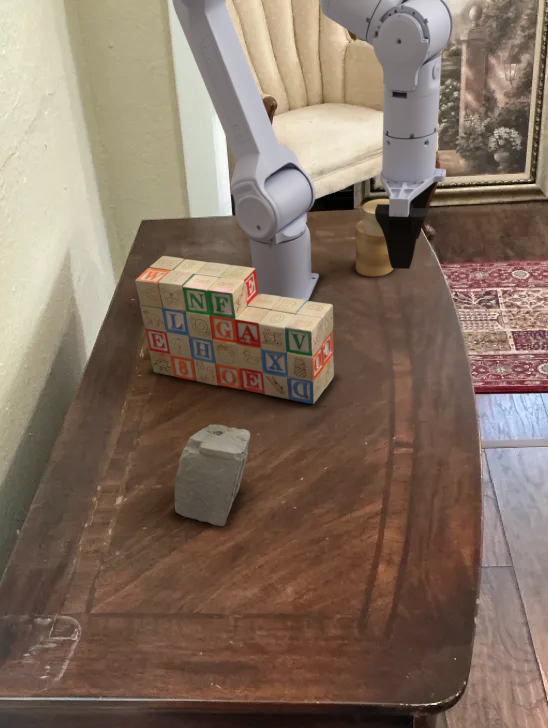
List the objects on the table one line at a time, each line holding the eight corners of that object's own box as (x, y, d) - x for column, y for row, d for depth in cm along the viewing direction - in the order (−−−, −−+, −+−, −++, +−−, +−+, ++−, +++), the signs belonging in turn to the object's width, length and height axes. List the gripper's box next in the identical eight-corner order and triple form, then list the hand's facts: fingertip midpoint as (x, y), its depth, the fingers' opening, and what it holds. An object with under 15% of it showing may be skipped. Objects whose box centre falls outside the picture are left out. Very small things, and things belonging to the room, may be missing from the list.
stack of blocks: (335, 377, 100) (333, 278, 92) (314, 406, 96) (310, 305, 88) (177, 346, 108) (162, 253, 100) (151, 372, 104) (133, 277, 96)
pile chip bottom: (359, 258, 121) (359, 237, 119) (396, 260, 120) (397, 239, 118) (352, 275, 118) (352, 254, 116) (390, 277, 116) (391, 256, 114)
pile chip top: (359, 237, 119) (359, 216, 117) (397, 239, 118) (397, 217, 116) (352, 254, 116) (352, 233, 114) (391, 256, 114) (391, 234, 112)
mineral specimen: (257, 527, 81) (231, 461, 76) (177, 528, 85) (147, 465, 80) (278, 476, 86) (255, 411, 81) (201, 479, 90) (174, 417, 85)
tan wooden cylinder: (367, 219, 116) (367, 197, 114) (403, 222, 115) (403, 199, 113) (358, 235, 113) (358, 212, 111) (394, 237, 112) (395, 215, 110)
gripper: (440, 155, 86) (433, 282, 95) (455, 106, 96) (446, 226, 105) (369, 154, 87) (369, 280, 97) (391, 107, 97) (388, 224, 107)
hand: (405, 252), depth 101 cm, fingers open, 7 cm apart
